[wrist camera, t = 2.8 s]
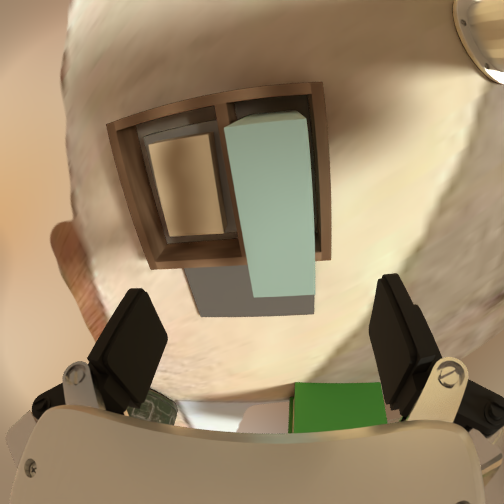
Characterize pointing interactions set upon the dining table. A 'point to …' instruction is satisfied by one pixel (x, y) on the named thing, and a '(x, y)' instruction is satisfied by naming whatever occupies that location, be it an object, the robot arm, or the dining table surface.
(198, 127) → the offcut lower
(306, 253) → the pale green square slab
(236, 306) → the mat
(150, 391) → the canister
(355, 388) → the hardback book
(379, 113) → the dining table surface
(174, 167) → the offcut upper
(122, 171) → the rack
